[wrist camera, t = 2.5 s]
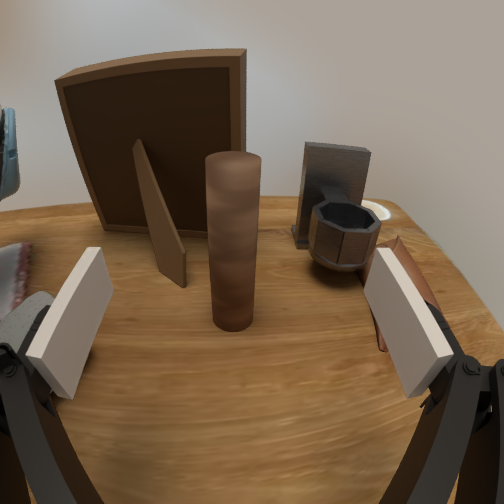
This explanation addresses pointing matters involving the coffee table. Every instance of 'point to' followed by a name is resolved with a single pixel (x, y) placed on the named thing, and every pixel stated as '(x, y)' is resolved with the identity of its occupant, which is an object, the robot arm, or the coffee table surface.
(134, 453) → the coffee table surface
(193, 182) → the photo frame
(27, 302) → the ceramic mug
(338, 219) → the bracket
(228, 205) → the brown wooden dowel
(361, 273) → the sunglasses case
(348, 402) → the coffee table surface
